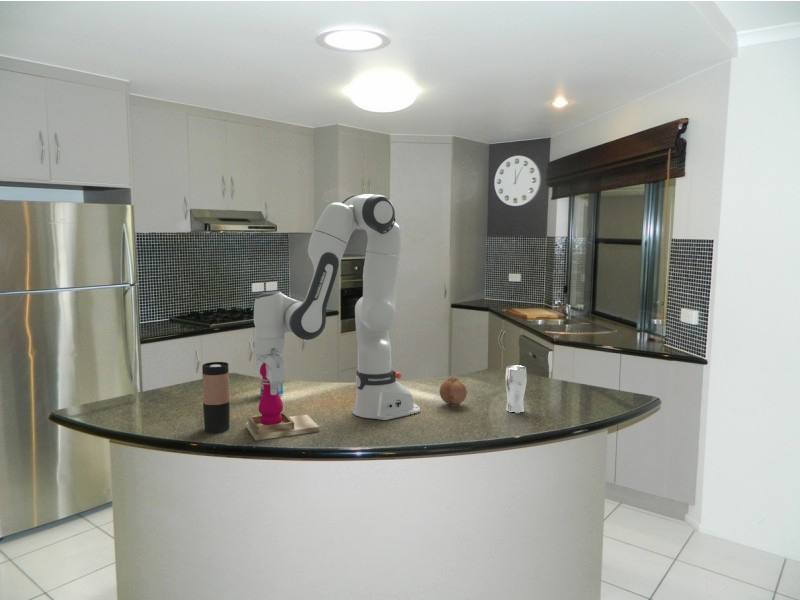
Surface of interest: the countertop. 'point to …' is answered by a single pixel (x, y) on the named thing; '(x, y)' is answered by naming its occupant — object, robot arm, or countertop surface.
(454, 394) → the onion
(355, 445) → the countertop surface
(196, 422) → the countertop surface
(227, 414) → the travel mug
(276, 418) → the pepper mill
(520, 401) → the beer glass
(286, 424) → the mill holder
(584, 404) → the countertop surface
